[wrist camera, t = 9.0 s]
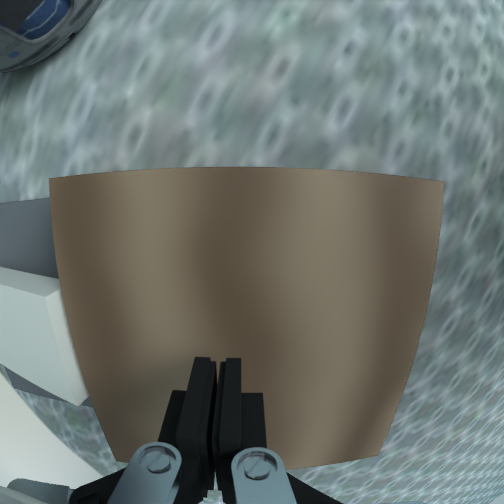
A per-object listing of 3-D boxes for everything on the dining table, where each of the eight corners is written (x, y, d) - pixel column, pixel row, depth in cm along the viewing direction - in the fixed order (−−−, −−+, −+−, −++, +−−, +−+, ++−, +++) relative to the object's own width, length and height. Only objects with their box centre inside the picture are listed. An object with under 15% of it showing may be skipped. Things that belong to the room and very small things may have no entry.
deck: (399, 177, 15) (443, 181, 11) (359, 415, 19) (378, 455, 15) (90, 175, 14) (49, 178, 10) (130, 419, 18) (116, 460, 14)
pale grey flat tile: (74, 281, 13) (45, 296, 11) (99, 385, 14) (78, 406, 12) (-11, 264, 14) (-33, 272, 13) (10, 345, 16) (-9, 357, 14)
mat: (84, 194, 14) (82, 195, 14) (122, 408, 18) (121, 411, 17) (-30, 207, 14) (-32, 208, 13) (15, 386, 17) (13, 388, 17)
